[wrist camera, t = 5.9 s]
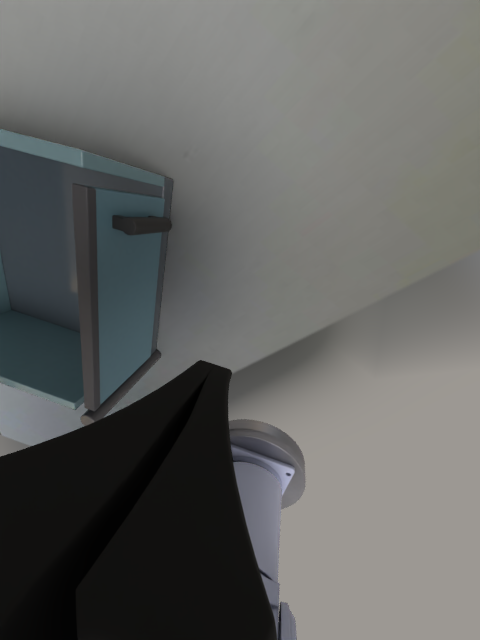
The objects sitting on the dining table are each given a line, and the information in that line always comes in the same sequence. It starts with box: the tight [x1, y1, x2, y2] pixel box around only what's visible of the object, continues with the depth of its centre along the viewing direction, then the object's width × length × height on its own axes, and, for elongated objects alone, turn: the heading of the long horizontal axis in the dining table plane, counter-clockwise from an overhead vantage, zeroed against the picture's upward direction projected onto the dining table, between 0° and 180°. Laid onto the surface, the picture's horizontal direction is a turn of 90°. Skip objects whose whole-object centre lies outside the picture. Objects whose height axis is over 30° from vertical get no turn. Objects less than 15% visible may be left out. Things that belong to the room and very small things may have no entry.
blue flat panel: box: [72, 183, 172, 411], centre depth 15 cm, size 12×2×6 cm, turn 166°
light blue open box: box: [0, 129, 173, 426], centre depth 16 cm, size 14×14×8 cm
